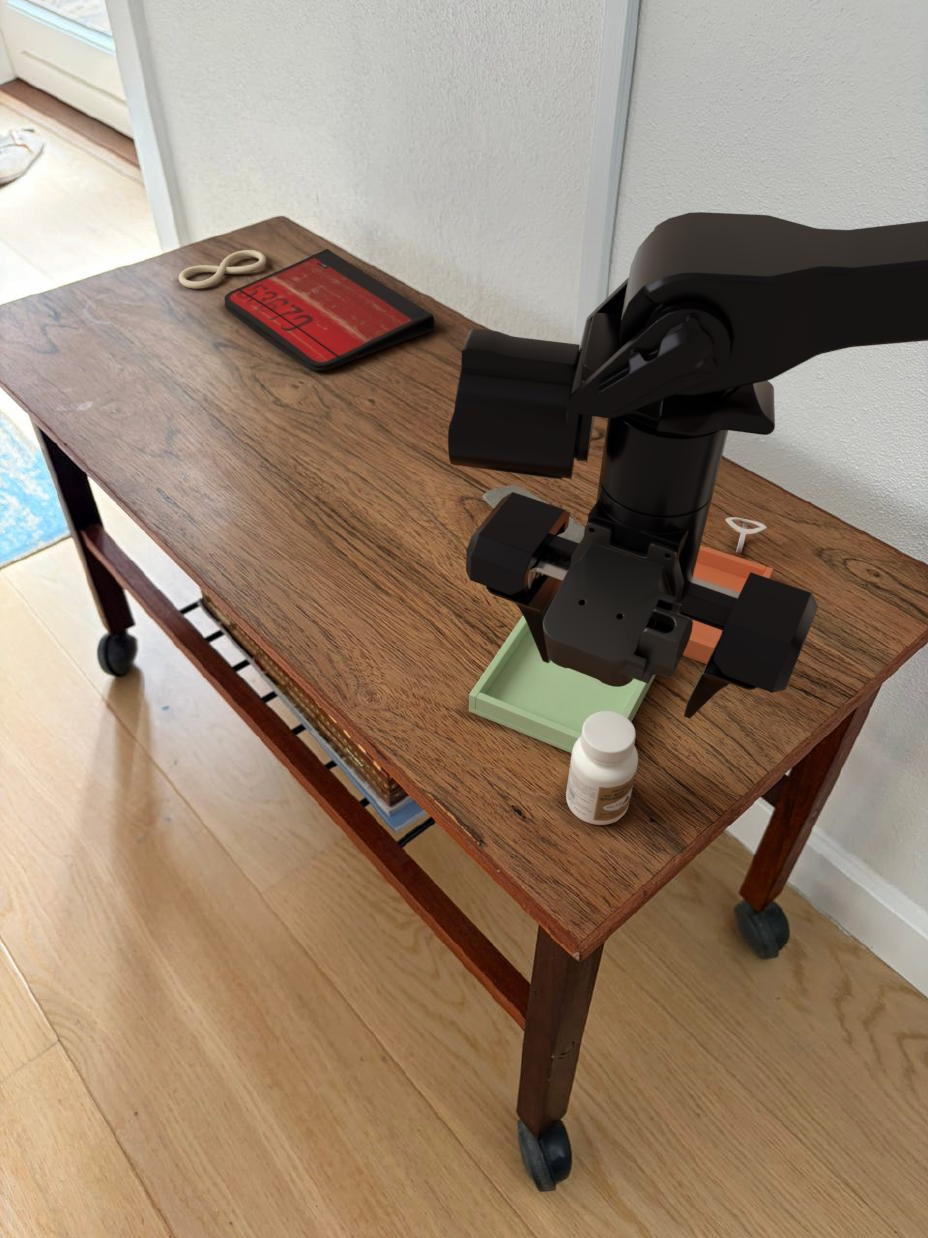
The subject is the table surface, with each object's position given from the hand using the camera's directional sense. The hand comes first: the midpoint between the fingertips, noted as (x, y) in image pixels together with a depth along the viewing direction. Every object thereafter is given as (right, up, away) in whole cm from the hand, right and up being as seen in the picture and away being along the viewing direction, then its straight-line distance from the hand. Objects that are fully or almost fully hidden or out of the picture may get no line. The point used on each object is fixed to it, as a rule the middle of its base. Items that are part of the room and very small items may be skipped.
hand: (617, 684), depth 62 cm
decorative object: (-39, +46, +63) cm, 87 cm away
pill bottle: (0, -9, +9) cm, 12 cm away
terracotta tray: (+9, +5, +22) cm, 25 cm away
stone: (-3, +12, +29) cm, 32 cm away
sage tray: (-1, -1, +16) cm, 16 cm away
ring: (+15, +10, +28) cm, 33 cm away
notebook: (-25, +39, +55) cm, 72 cm away
